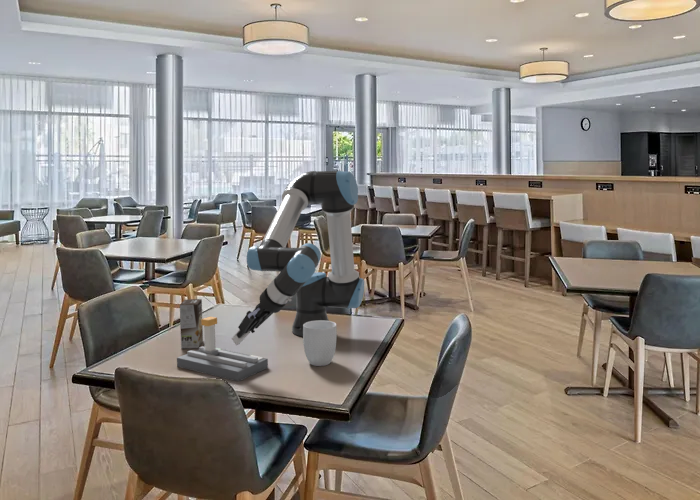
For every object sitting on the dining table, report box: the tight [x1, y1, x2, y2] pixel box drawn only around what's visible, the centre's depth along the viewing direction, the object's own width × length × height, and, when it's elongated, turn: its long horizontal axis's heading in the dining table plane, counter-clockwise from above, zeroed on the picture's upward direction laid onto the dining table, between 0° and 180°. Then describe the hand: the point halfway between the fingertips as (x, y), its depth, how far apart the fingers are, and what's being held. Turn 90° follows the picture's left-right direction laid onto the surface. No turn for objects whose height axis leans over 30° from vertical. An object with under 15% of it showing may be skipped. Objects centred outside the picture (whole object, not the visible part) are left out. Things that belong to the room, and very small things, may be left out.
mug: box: [302, 320, 337, 367], centre depth 187 cm, size 15×11×13 cm
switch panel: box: [176, 345, 269, 382], centre depth 182 cm, size 26×14×4 cm, turn 60°
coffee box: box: [179, 298, 204, 349], centre depth 205 cm, size 9×6×16 cm
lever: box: [201, 316, 218, 355], centre depth 183 cm, size 4×4×12 cm
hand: (235, 341), depth 178 cm, fingers closed
